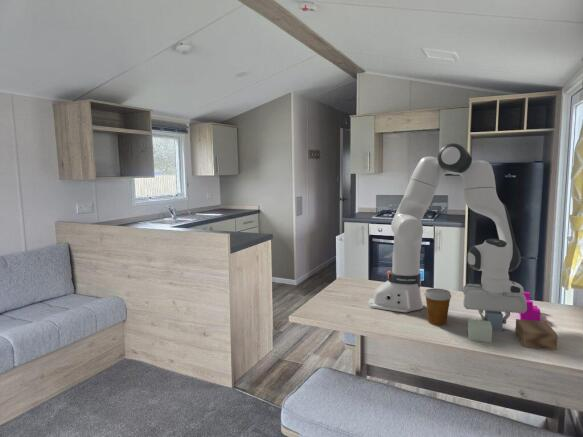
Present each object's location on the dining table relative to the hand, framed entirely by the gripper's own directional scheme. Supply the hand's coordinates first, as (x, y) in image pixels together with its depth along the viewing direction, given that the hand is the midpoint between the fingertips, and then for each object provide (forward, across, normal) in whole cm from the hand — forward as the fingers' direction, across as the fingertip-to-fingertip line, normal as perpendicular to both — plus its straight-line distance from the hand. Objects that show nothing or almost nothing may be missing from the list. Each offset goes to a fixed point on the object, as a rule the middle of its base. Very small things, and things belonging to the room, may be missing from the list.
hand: (493, 322), depth 144 cm
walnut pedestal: (+2, +11, -9) cm, 14 cm away
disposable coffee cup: (+2, -19, +1) cm, 19 cm away
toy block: (+3, +16, +18) cm, 24 cm away
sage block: (+2, -6, -10) cm, 12 cm away
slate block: (+2, 0, 0) cm, 2 cm away
